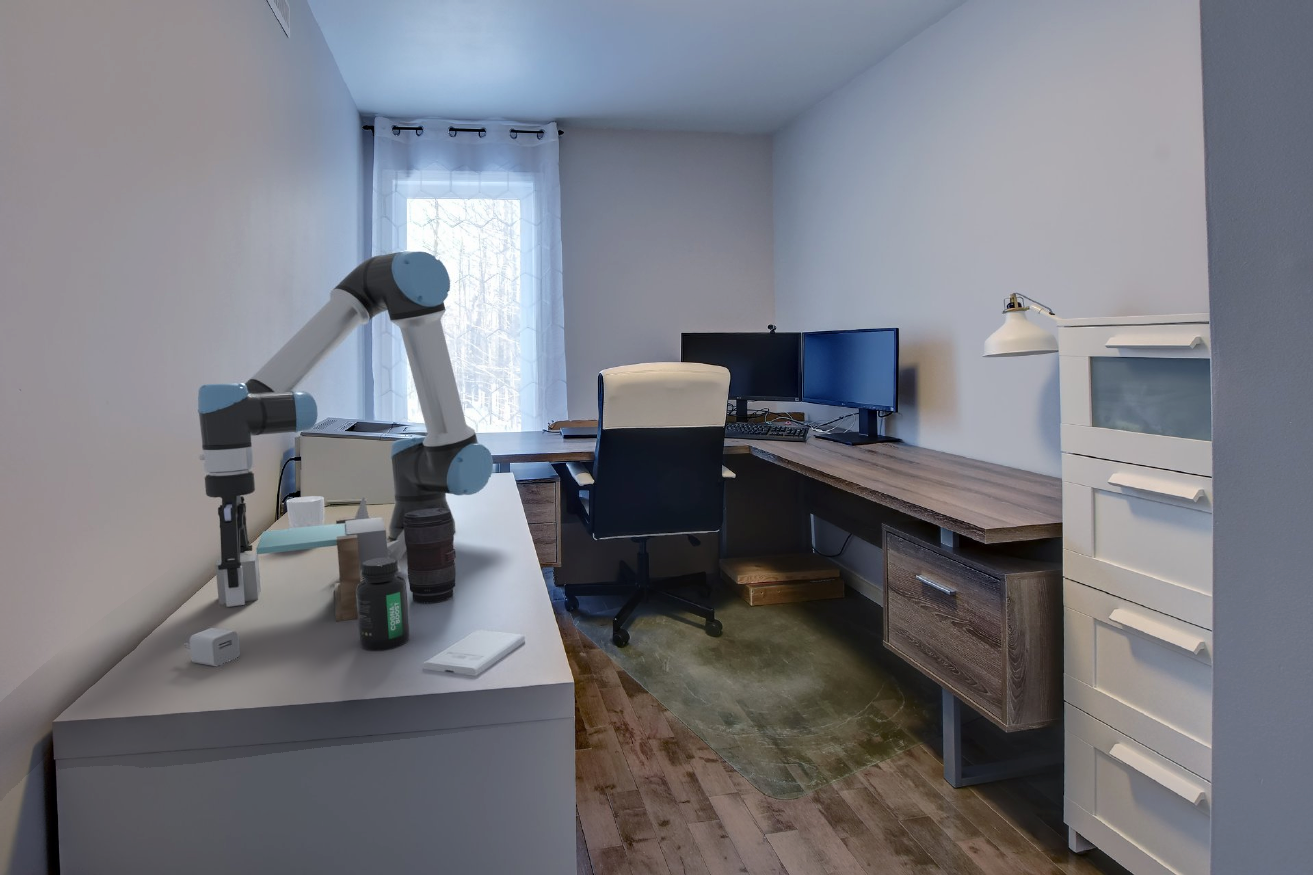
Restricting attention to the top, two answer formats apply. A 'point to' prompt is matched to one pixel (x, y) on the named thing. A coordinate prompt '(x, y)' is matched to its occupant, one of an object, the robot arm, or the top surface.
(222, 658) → the usb wall charger
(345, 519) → the stand
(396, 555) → the crystal
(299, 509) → the white cup
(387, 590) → the supplement bottle
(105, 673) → the top surface
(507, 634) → the external hard drive
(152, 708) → the top surface
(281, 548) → the trapdoor
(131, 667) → the top surface
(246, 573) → the plain grey cube
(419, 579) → the camera lens
